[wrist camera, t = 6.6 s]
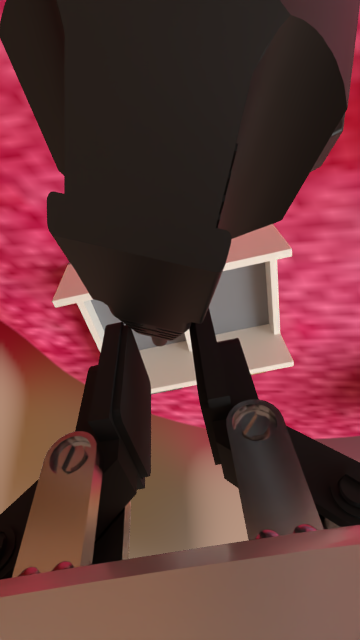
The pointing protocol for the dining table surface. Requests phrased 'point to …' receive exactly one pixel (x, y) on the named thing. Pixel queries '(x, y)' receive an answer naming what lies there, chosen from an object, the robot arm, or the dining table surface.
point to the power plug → (177, 133)
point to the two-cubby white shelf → (225, 308)
